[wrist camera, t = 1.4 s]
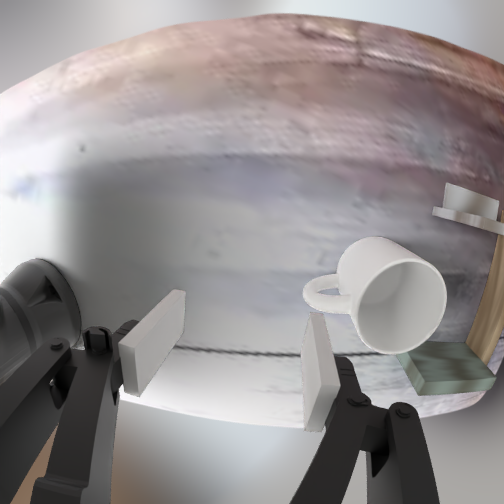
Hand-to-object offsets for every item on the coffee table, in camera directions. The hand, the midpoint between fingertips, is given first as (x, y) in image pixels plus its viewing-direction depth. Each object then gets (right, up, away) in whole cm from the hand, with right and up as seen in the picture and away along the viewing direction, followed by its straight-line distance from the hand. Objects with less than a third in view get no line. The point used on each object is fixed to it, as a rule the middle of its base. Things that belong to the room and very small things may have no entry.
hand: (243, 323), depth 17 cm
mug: (+12, +2, +14) cm, 18 cm away
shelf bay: (+26, 0, +13) cm, 29 cm away
